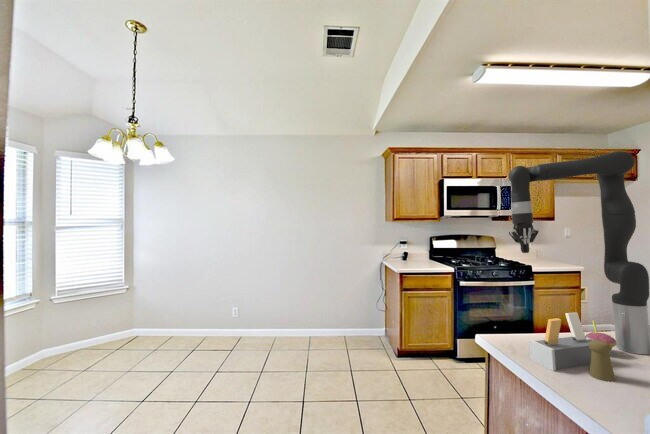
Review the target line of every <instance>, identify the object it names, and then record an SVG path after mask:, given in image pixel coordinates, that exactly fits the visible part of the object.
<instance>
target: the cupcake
mask: <svg viewBox="0 0 650 434" xmlns="http://www.w3.org/2000/svg"><path fill="white" fill-rule="evenodd" d="M592 326H593V330H594V331H592V332H588V333H587V334H585V336H586V337H587V338H590V339H593V340H600V341H604V342H606V343H608V344H609V345H610V347H611V352H612V350H613V348H615V347H616V345H617V343H616V338H615V337H612V336H611V335H610V334H607V333H603V332H598V329H597V326H596V321H595V320H594V318H592ZM611 352H610V353H609V356H610V355H611Z"/></svg>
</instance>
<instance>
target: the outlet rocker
mask: <svg viewBox="0 0 650 434" xmlns="http://www.w3.org/2000/svg"><path fill="white" fill-rule="evenodd" d="M561 325H562V319H560V318H558V317H556V318H549V319H547V326H546V331H545V337H544V338H545V339H544V340H545V341H544V343H545V344H556V343H558V338H560V337H559V336H560V330H561Z"/></svg>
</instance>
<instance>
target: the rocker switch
mask: <svg viewBox="0 0 650 434" xmlns="http://www.w3.org/2000/svg"><path fill="white" fill-rule="evenodd" d="M564 314H565V318H566V320H567V324H568V328H569V329H570V334H571V337H572V338H573V340H583V339H586V334H585V331H584V328H583V325H582V322H581V319H580V317H579V313H578V312H577V311H576V312H567V313H564Z"/></svg>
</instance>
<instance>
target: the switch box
mask: <svg viewBox="0 0 650 434" xmlns="http://www.w3.org/2000/svg"><path fill="white" fill-rule="evenodd" d="M591 340H593V339H590V338H587V337H586V339H583V340H573V338H572V336H566V337H558V343H556V344H545V343H544V341H545V339H543V340H534V339H528V345H529V359H530V361H532V362H534V363H536V364H538V365H540V366H542V367H544V368H545V369H548V370H550V371H552V372H556V371H559V370H566V369H572V368H579V367H587V366H590V363H591V349H590V348H589V342H590V341H591Z"/></svg>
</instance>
